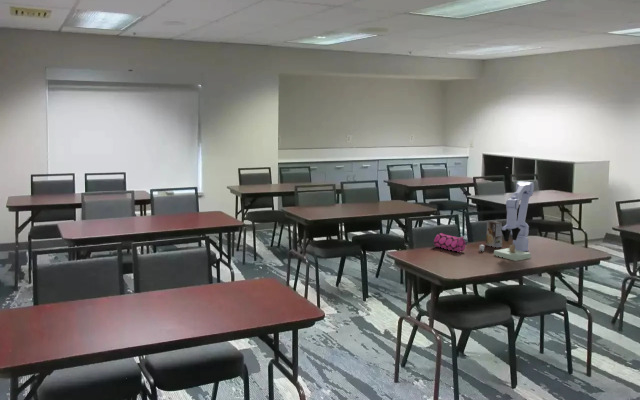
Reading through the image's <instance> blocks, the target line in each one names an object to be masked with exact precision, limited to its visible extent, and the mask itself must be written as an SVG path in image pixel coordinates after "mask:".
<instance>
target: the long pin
mask: <svg viewBox="0 0 640 400" xmlns="http://www.w3.org/2000/svg"><path fill="white" fill-rule="evenodd" d="M509 248H510V252H511V253H515V245H513V244H510V245H509Z"/></svg>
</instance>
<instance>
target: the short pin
mask: <svg viewBox="0 0 640 400" xmlns="http://www.w3.org/2000/svg"><path fill="white" fill-rule="evenodd" d="M478 246H479V249H478V251H484V252H485V247H486V244H479V245H478Z"/></svg>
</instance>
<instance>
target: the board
mask: <svg viewBox="0 0 640 400" xmlns="http://www.w3.org/2000/svg"><path fill="white" fill-rule="evenodd" d="M494 255H496V256H495V257H498V256H499V257H500V258H502V257H503V259H507V260H511V261H523V260H527V259H531V257H532V252H528V251H519V250H515V253H511V252H510V247H507V248H500V249H494V250H493V256H494ZM499 257H498V258H499Z"/></svg>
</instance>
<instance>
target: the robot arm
mask: <svg viewBox="0 0 640 400" xmlns="http://www.w3.org/2000/svg"><path fill="white" fill-rule="evenodd" d="M534 189H535V183H534V182H533V181H531V182H530V181H516V184H515V190H516V191H515V192H513V193H512V194H511V196H510V198H508V199H507V200H506V203H505V207H506V224H505V225H503V227H502V229H501V231H502V233H503V240H504V242H507V243H508V242H509V238H510V235H511V236H512V237H511V238H512V245H515V250H519V251H524V252H528V251H530V250H529V239H528V236H529V231H530V230H529V229H530V226H529V224H528V223H527V222H526V217H527V212H528V207H529V201H530V198H531V197H533V195H534V191H535V190H534ZM517 214H518V215H517Z"/></svg>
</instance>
